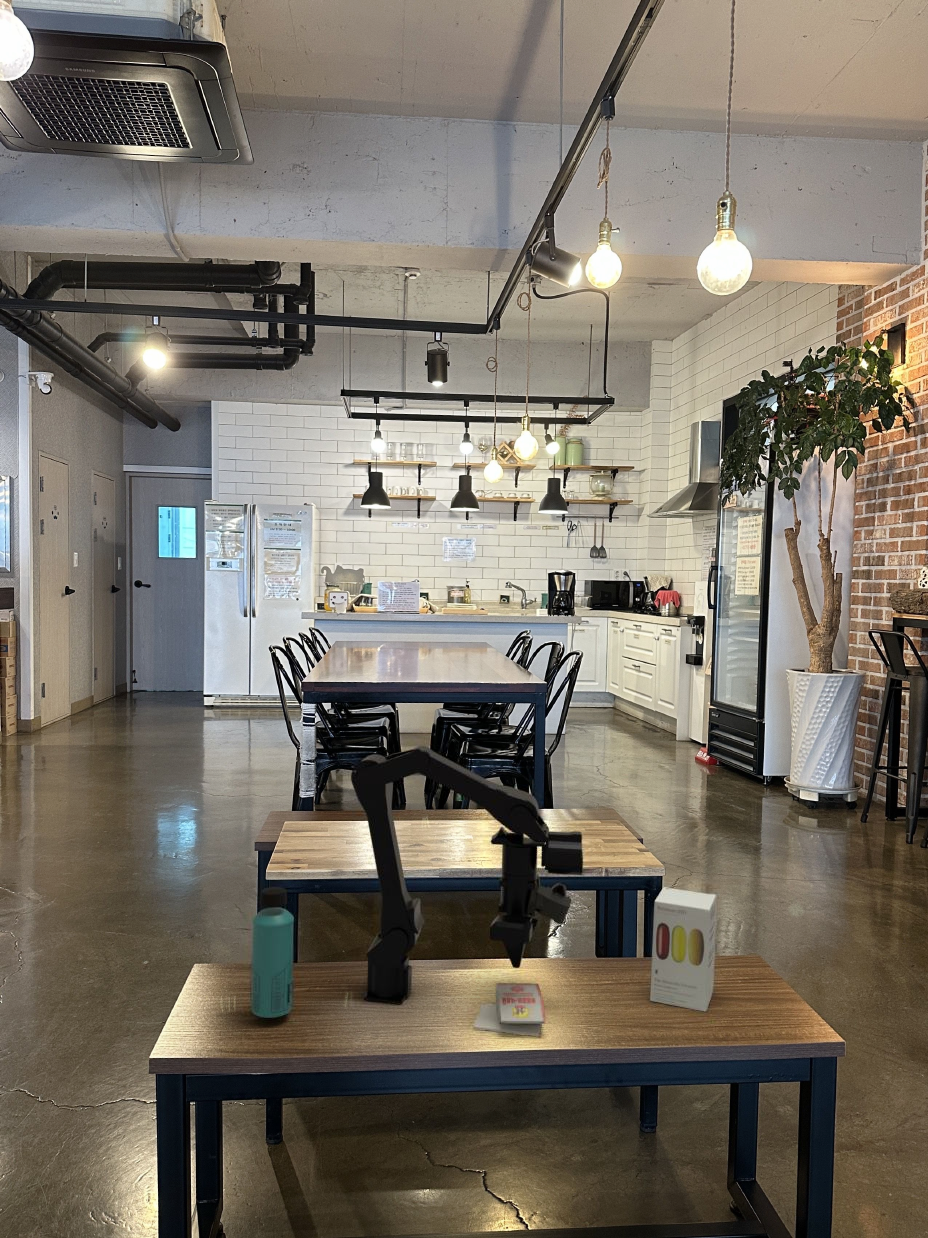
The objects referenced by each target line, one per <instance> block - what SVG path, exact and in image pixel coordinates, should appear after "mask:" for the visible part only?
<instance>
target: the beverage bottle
mask: <svg viewBox="0 0 928 1238" xmlns="http://www.w3.org/2000/svg"><path fill="white" fill-rule="evenodd" d="M287 893H288V892H287V890H286V888H284V887H280V886H279V887H277V886H273V887H272V886H271V887H266V888H264V889H262V890H261V891H260V899H259V906H262V907H266V908H263V909H261V910H260V911H258V913H257V914H255V916H254V917H253V918H252V946H251V948H252V949H251V950H252V951H251V952H252V953H251V956H250V957H251V963H250V967H251V980H249V981H250V983H251V984H250V991H249V992H250V993H249V994H250V998H249V999H250V1000H249V1001H250V1002H249V1003H250V1009H251V1012H252V1014H253V1015H255V1016H257V1017H260V1018H277V1017H283V1016H284V1015H287V1014H289V1013H290V1012H291V1010H292V1007H293V1004H294V1001H293V999H294V993H293V985H294V977H295V976H294V970H295V969H294V963H295V961H294V949H295V947H294V945H295V944H294V921H295V920H294V919H295V918H294V915H293V914H292V913H291V912H289V911H288V910H287V909H286V908H282V907H283V906H286V905H287V904H288V896H287V895H288V894H287Z"/></svg>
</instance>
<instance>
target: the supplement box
mask: <svg viewBox="0 0 928 1238" xmlns="http://www.w3.org/2000/svg"><path fill="white" fill-rule="evenodd" d="M717 898H718V897H717V894H714V893H704V892H697V891H691V890H685V889H678V888H677V889H676V888H670V887H666V886H663V888H662V889H661V891H660V892H659V894H658V895H657V896H656V899H655V900H654V907H653V927H652V928H653V930H652V931H653V932H652V950H651V953H652V954H651V971H650V972H651V976H650V994H649V995H650V997H649V1001H650V1002H656V1003H660V1004H664V1005H671V1006H675V1007H681V1008H685V1009H690V1010H694V1011H701V1012H707V1011H708V1008H709V1006H710V1002H711V999H712V996H713V993H714V983H715V981H714V975H715V955H716V953H715V952H716V951H715V950H716V946H715V945H716V938H717V937H716V933H717V929H716V927H717V900H718V899H717Z"/></svg>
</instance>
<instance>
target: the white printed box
mask: <svg viewBox="0 0 928 1238" xmlns="http://www.w3.org/2000/svg"><path fill="white" fill-rule="evenodd" d="M495 984H496V985H495V1005H496V1011H497V1016H498V1021H499V1023H536V1024H542V1025H544V1024H547V1023H546V1022H547V1018H546V1011H544V1010H545V1005H544V1004H545V1003H544V998H543V995H542V991H541V989H540V986H539V983H531V982H530V983H525V982H524V983H521V982H517V983H516V982H514V983H511V982H509V983H508V982H506V983H505V982H502V983H501V982H497V983H495Z"/></svg>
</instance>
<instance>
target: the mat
mask: <svg viewBox="0 0 928 1238" xmlns="http://www.w3.org/2000/svg"><path fill="white" fill-rule="evenodd" d="M544 1011H545V1009H544ZM545 1012H546V1011H545ZM541 1028H542V1025H541V1024H536V1023H499V1021H498V1016H497V1011H496V1004H490V1003H482V1005H481V1007H480V1009H479V1012H478V1015H477V1017H476V1019H475V1021H474V1024H473V1029H472V1030H476V1029H481V1030H480V1031H485V1030H490V1031H489V1032H496V1033H502V1032H506V1033H505V1034H511V1033H513V1035H520V1034H524V1035H523V1036H528V1035H531V1036H530V1037H537V1036H539V1037H540V1034H539V1033H540V1032H541Z"/></svg>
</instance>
